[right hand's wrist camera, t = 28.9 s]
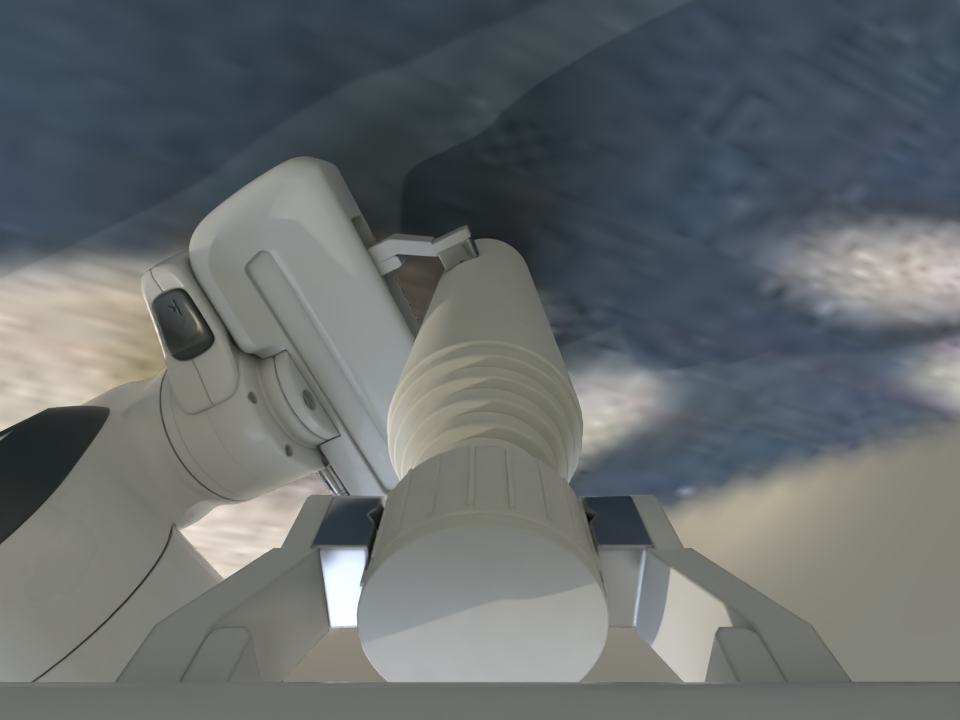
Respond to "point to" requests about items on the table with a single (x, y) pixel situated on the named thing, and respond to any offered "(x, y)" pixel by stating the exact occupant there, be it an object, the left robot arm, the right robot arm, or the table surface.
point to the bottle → (485, 371)
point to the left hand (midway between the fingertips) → (501, 299)
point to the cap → (483, 575)
